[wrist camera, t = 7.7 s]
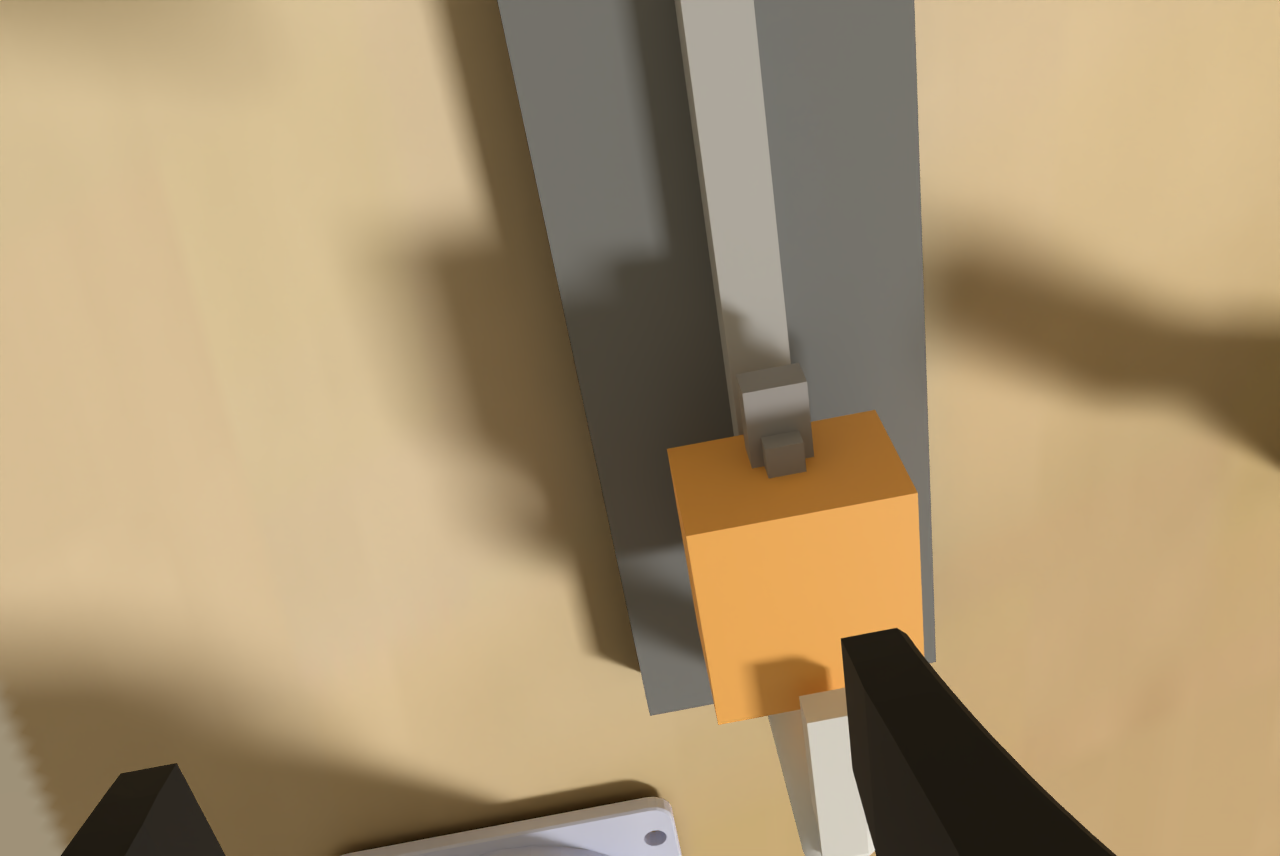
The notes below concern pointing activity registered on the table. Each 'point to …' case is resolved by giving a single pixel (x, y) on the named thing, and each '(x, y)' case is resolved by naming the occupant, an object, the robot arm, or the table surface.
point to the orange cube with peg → (794, 545)
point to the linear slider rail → (730, 279)
